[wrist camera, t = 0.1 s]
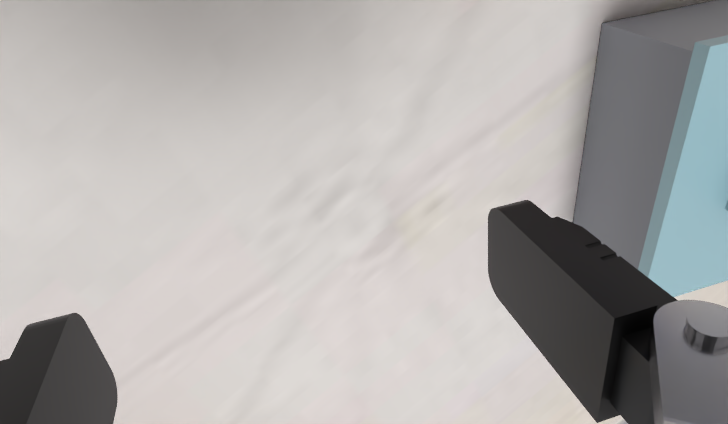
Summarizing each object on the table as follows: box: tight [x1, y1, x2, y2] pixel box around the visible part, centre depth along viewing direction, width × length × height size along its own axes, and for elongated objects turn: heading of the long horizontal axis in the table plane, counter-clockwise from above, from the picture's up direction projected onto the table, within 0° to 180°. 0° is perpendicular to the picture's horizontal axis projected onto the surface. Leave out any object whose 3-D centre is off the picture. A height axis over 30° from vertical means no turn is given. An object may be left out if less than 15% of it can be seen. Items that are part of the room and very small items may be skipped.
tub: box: [573, 0, 728, 269], centre depth 30 cm, size 14×10×7 cm
